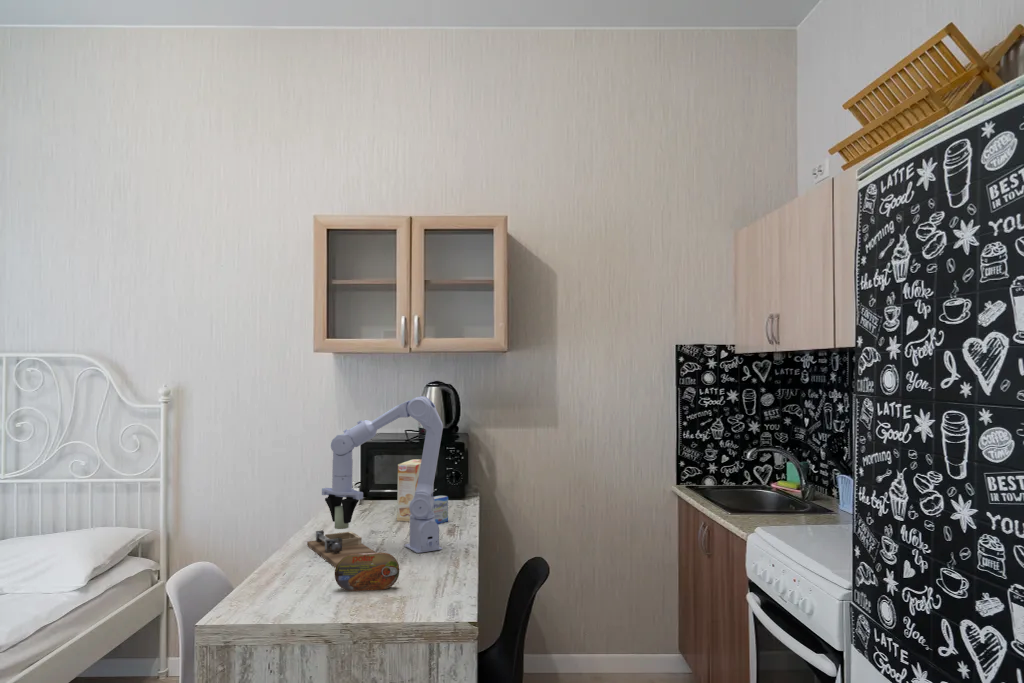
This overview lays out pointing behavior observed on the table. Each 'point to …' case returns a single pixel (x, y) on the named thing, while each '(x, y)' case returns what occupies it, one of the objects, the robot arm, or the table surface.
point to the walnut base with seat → (349, 546)
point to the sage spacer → (340, 518)
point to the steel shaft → (331, 544)
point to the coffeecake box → (407, 487)
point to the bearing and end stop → (327, 541)
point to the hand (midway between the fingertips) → (341, 521)
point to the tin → (367, 571)
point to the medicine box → (440, 509)
